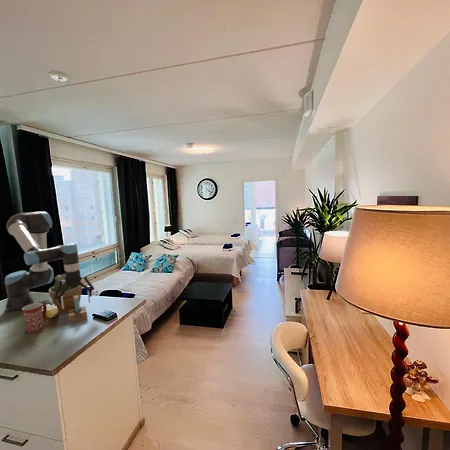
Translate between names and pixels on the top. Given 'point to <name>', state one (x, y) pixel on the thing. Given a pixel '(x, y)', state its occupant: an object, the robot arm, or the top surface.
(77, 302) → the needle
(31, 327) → the mug
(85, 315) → the wooden holder
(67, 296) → the potted plant
